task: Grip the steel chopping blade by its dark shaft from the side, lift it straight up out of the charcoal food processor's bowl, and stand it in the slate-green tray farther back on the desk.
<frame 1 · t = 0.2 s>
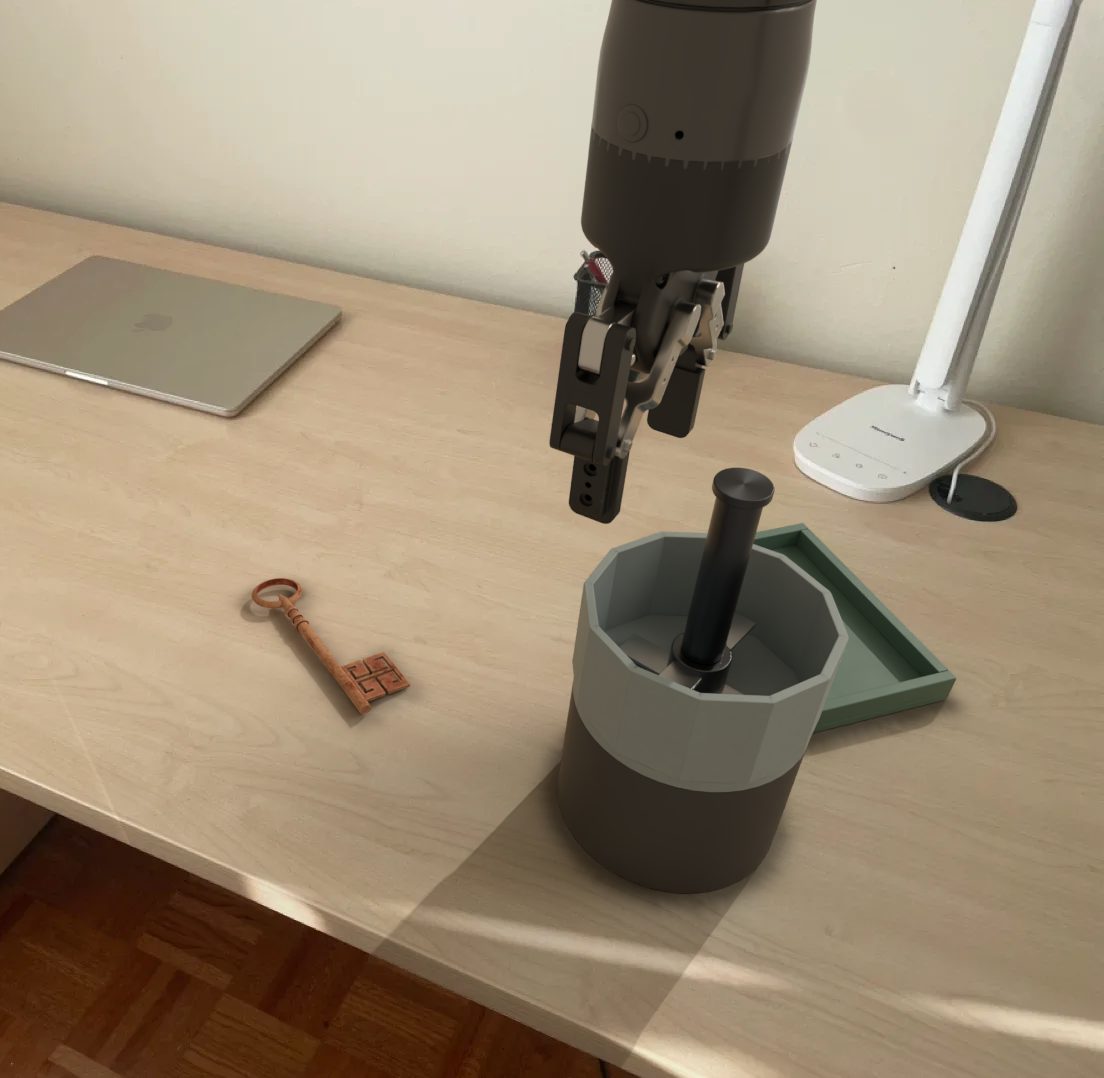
hand: (633, 470, 50), 24 cm above the table, tool pointing down, fingers open, 8 cm apart
tray: (784, 633, 76), on the table
processor: (664, 799, 65), on the table
key: (325, 642, 76), on the table
blade: (692, 689, 59), point 10 cm above the table, touching processor
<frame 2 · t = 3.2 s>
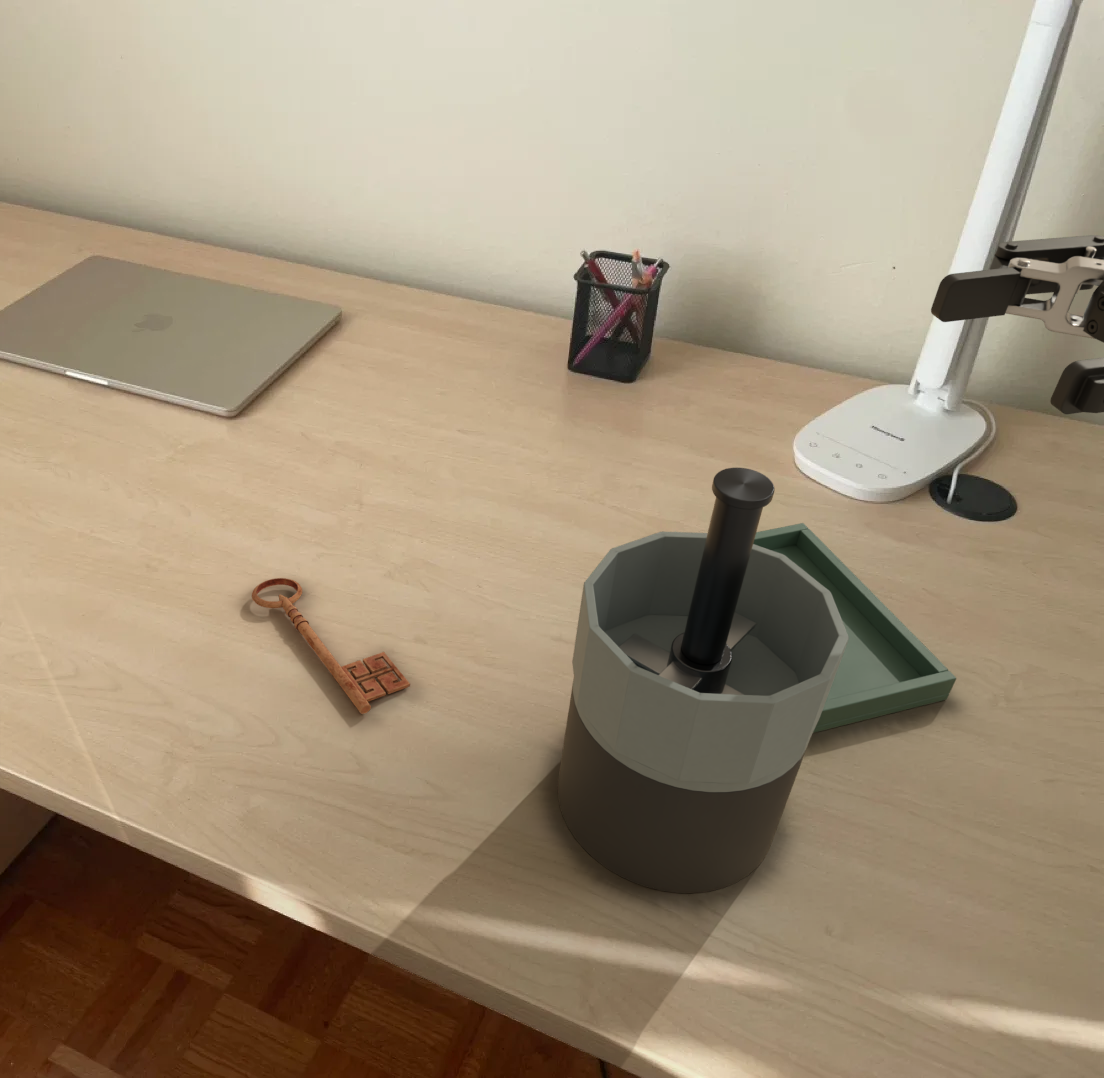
hand: (997, 341, 48), 30 cm above the table, tool horizontal, fingers open, 8 cm apart
nothing on the table moved.
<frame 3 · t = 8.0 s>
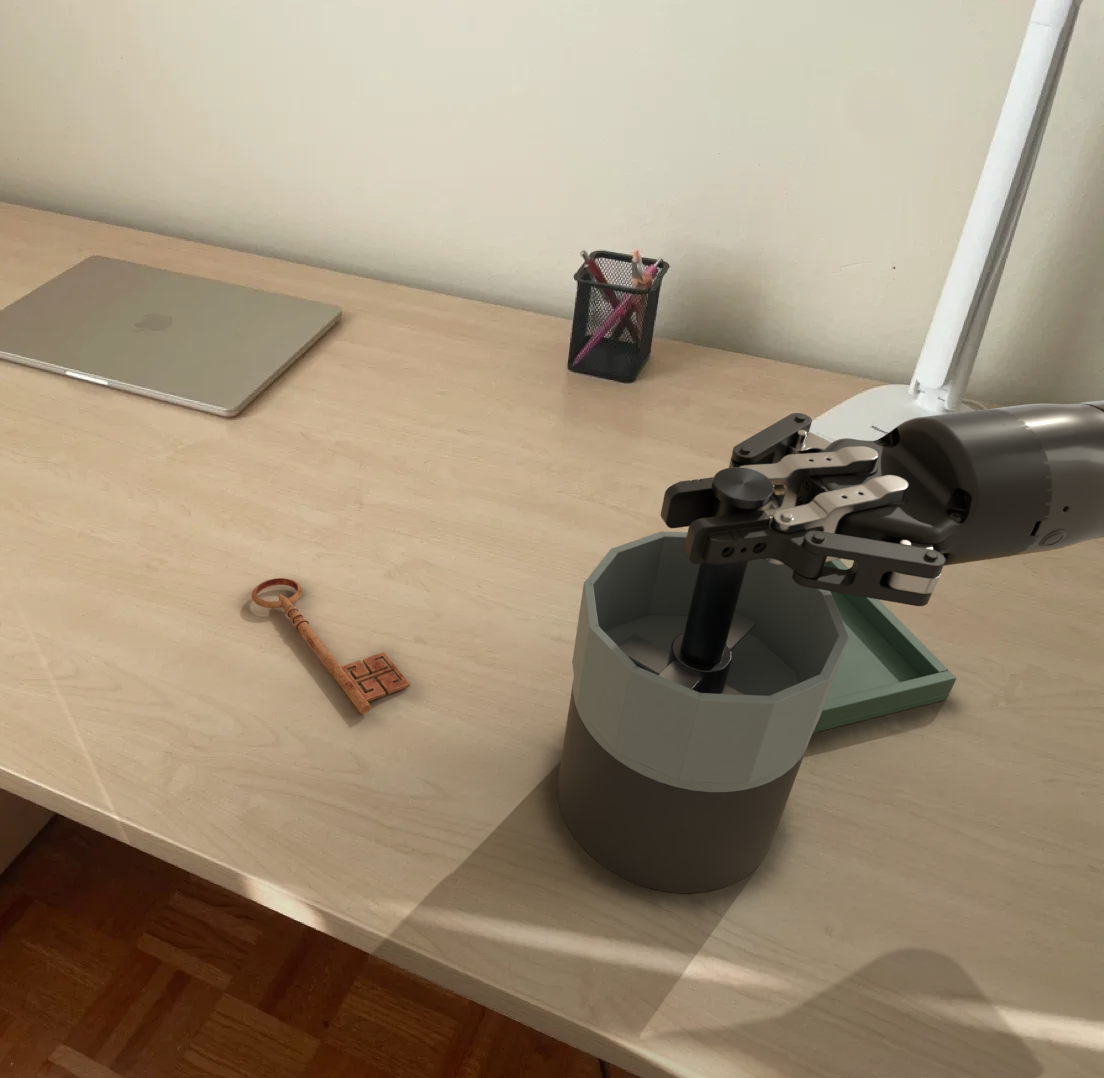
hand: (678, 525, 51), 22 cm above the table, tool horizontal, fingers closed on blade
blade: (692, 689, 59), point 10 cm above the table, touching gripper, processor
everything else where it was.
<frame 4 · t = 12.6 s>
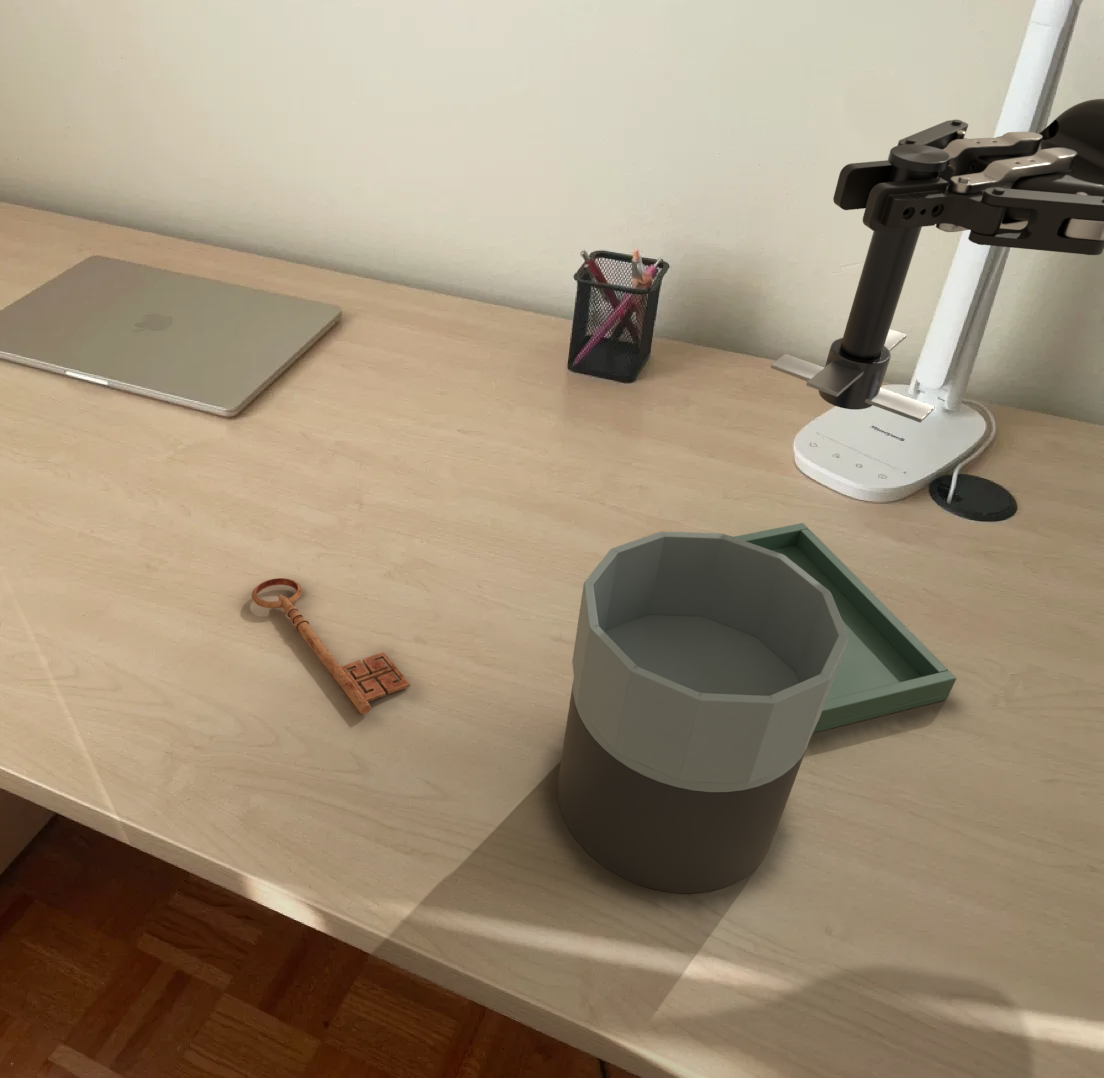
hand: (856, 197, 54), 33 cm above the table, tool horizontal, fingers closed on blade
blade: (847, 395, 62), point 21 cm above the table, touching gripper
everything else where it was.
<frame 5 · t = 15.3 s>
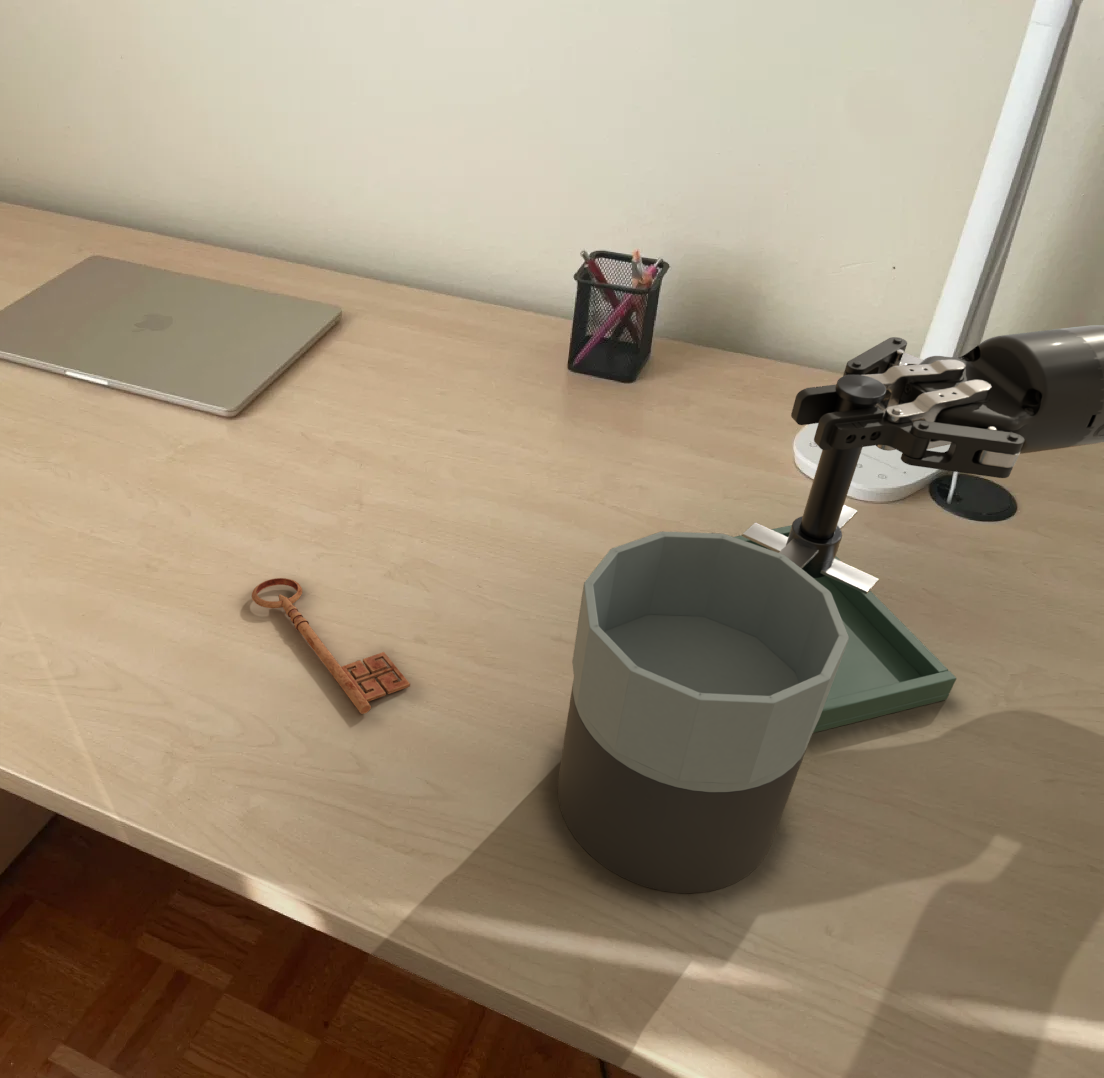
hand: (809, 420, 64), 18 cm above the table, tool horizontal, fingers closed on blade
blade: (806, 563, 72), point 6 cm above the table, touching gripper
everything else where it was.
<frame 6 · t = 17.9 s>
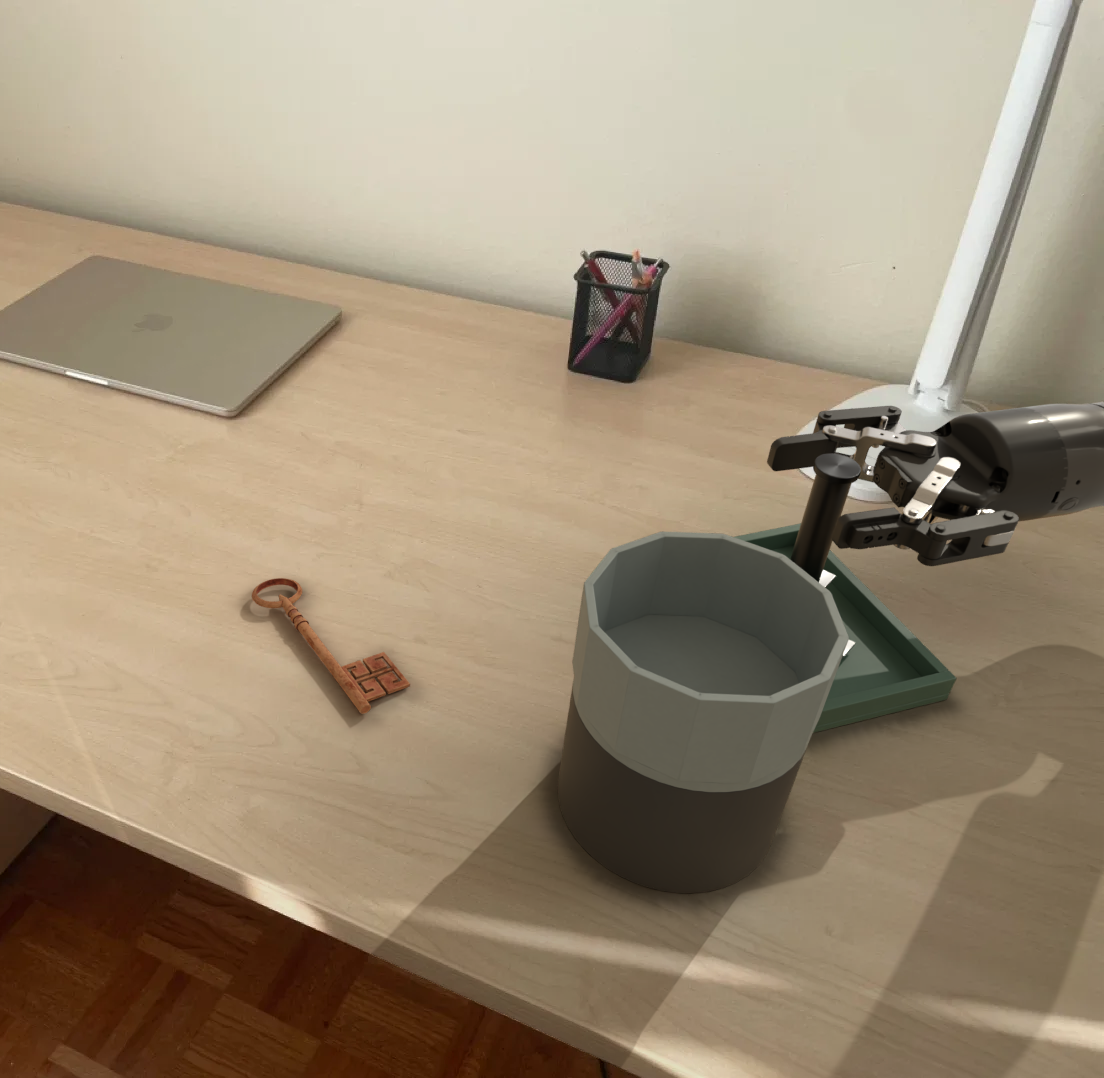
hand: (803, 492, 68), 13 cm above the table, tool horizontal, fingers open, 8 cm apart
blade: (787, 626, 76), point 1 cm above the table, touching tray
everything else where it was.
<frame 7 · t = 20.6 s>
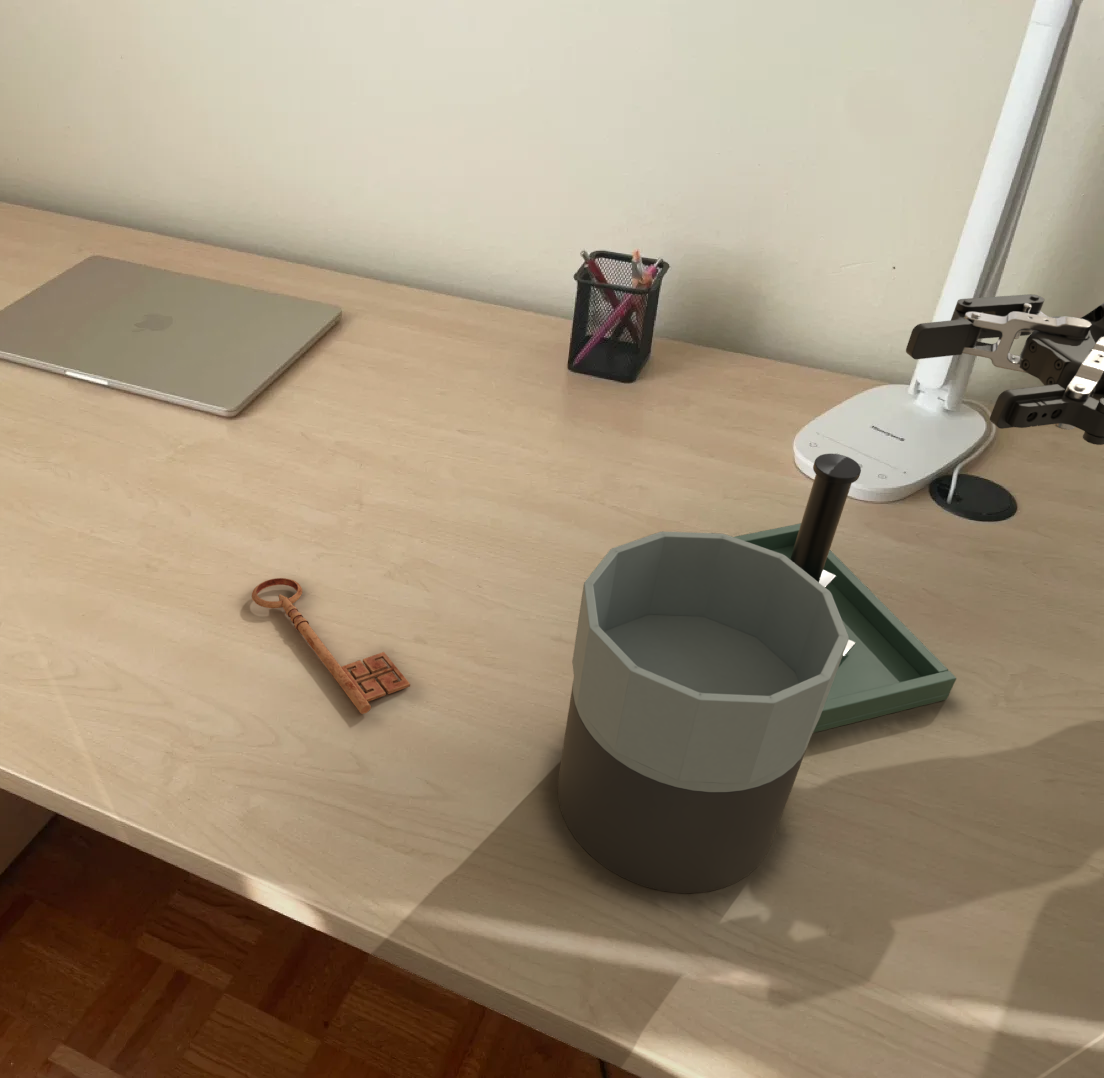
hand: (952, 374, 64), 21 cm above the table, tool horizontal, fingers open, 8 cm apart
nothing on the table moved.
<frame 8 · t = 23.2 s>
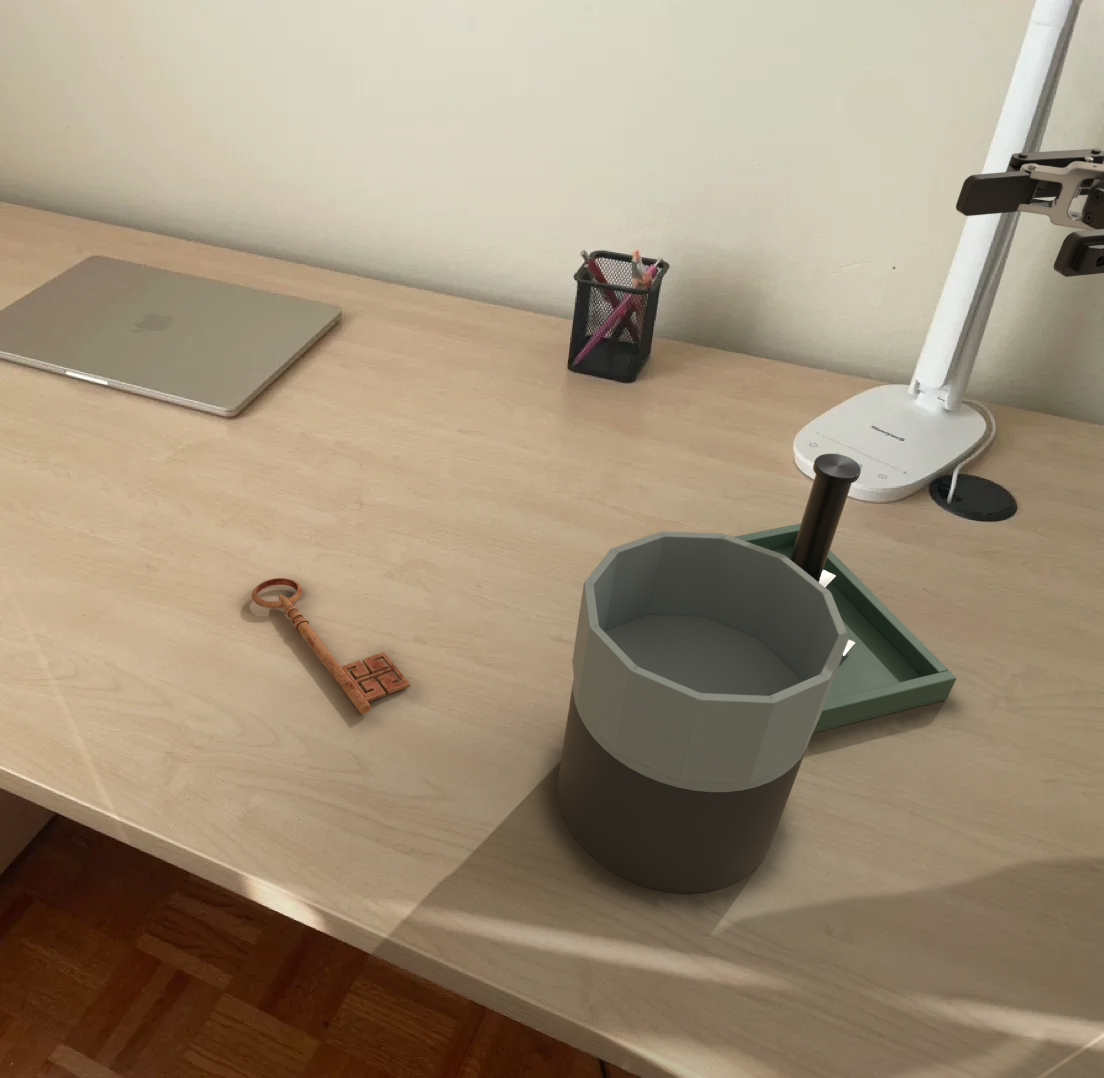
hand: (1010, 224, 58), 30 cm above the table, tool horizontal, fingers open, 8 cm apart
nothing on the table moved.
at the end: blade inside the target area in the tray (0.1 cm from its centre), point 0.6 cm above the tray's base; blade tilted 0° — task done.
